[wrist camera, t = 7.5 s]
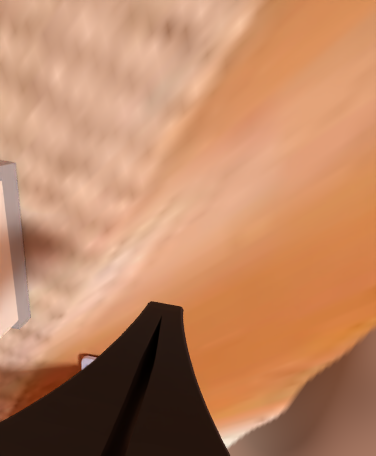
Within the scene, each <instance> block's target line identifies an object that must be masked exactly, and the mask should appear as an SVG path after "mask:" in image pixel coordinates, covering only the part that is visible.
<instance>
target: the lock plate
mask: <svg viewBox="0 0 376 456" xmlns="http://www.w3.org/2000/svg"><path fill="white" fill-rule="evenodd" d="M30 318H31V317H30V307H29V297H28V286H27V276H26V266H25V256H24V245H23V235H22V225H21V215H20V204H19V194H18V184H17V174H16V164H15V163H13V162H7V161H1V160H0V338H1V337H2V336H3V335H4V334H5V333H6V332H7V331H8V330H9V329H10V328H15V329H20V328H21V327H22V326H23V325H24V324H25V323H26V322H27V321H28V320H29V319H30Z"/></svg>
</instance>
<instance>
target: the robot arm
mask: <svg viewBox="0 0 376 456" xmlns="http://www.w3.org/2000/svg"><path fill="white" fill-rule="evenodd" d="M81 368H82V370H81V371H80V372H79V373H77V374H76V375H75V376H73V377H72V378H70V379H69V380H68V381H66V382H65V383H64V384H62V385H61V386H59V387H58V388H56V389H55V390H53V391H52V392H50V393H49V394H47V395H46V396H44V397H42V398H41V399H39V400H38V401H36V402H34V403H33V404H31V405H30V406H28V407H26V408H25V409H23V410H21V411H20V412H18V413H16V414H15V415H13V416H11V417H9V418H7V419H5V420H4V421H2V422H0V456H230V454H229V452H228V450H227V448H226V446H225V444H224V443H223V441H222V439H221V437H220V434H219V432H218V430H217V428H216V426H215V424H214V422H213V420H212V417H211V415H210V413H209V411H208V409H207V406H206V404H205V401H204V399H203V396H202V394H201V391H200V388H199V385H198V383H197V380H196V377H195V374H194V370H193V367H192V363H191V360H190V356H189V352H188V348H187V343H186V338H185V332H184V325H183V308H182V307H180V306H174V305H169V304H163V303H158V302H152V301H151V302H150V303H148V305H147V306H146V307H145V309H144V310H143V311H142V313H141V314H140V315H139V316H138V317H137V319H136V320H135V321H134V322H133V323H132V324H131V325H130V326H129V327H128V329H127V330H126V331H125V332H124V333H123V334H122V335H121V336H120V337H119V338H118V339H117V340H116V341H115V342H114V343H113V344H112V345H111V346H109V347H108V348H107V349H106V350H105V351H104V352H103V353H102V354H101V355H100V356H98V357H92V356H84V357H83V359H82V361H81Z"/></svg>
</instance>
